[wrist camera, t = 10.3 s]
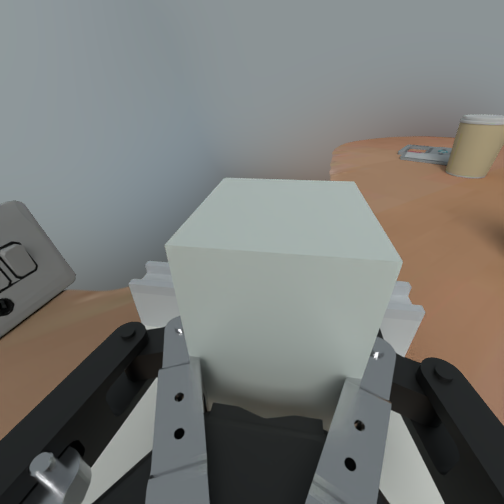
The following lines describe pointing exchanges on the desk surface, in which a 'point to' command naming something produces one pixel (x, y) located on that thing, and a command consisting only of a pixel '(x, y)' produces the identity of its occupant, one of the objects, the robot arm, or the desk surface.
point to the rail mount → (143, 415)
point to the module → (282, 292)
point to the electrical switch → (27, 266)
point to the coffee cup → (476, 145)
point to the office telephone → (426, 154)
